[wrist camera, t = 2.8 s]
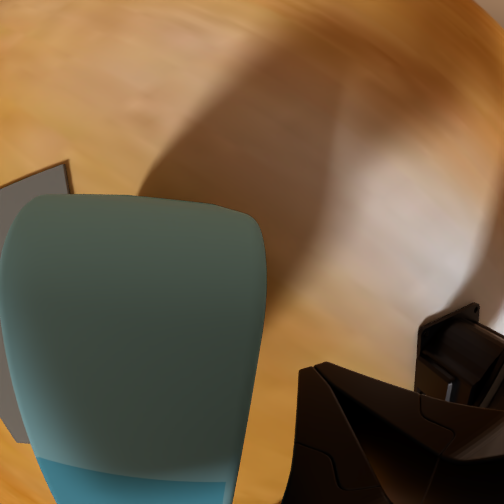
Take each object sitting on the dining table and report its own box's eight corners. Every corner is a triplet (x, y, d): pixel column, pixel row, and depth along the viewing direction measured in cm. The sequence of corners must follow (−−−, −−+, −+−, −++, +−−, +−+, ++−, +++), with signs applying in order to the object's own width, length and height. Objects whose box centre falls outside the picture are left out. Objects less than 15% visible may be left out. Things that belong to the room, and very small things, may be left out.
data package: (128, 194, 15) (-9, 194, 3) (214, 203, 16) (283, 221, 4) (123, 396, 17) (92, 566, 5) (195, 403, 18) (218, 577, 6)
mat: (65, 164, 14) (62, 164, 14) (155, 437, 18) (154, 440, 18) (-69, 226, 13) (-72, 226, 13) (18, 440, 17) (16, 442, 16)
